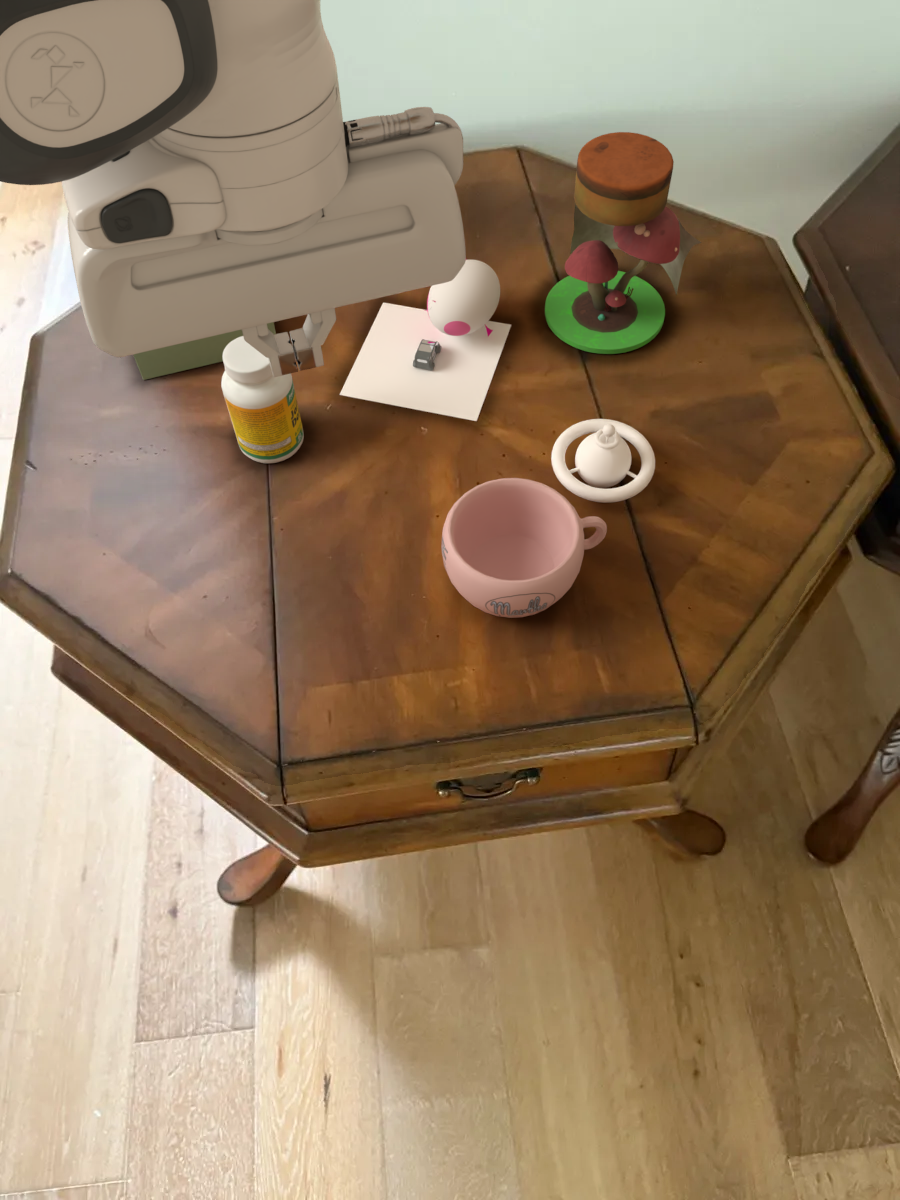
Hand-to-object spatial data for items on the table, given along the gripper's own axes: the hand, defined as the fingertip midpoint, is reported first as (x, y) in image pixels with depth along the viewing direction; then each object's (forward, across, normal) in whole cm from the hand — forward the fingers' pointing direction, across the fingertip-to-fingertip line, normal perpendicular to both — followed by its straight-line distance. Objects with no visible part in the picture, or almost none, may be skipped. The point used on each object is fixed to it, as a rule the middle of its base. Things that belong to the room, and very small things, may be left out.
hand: (296, 364), depth 57 cm
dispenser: (+19, +5, -28) cm, 34 cm away
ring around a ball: (+19, -22, -1) cm, 29 cm away
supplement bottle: (+19, +2, -13) cm, 23 cm away
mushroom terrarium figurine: (+19, -30, -18) cm, 40 cm away
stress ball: (+19, -16, -21) cm, 33 cm away
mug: (+19, -13, +6) cm, 24 cm away
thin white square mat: (+19, -13, -18) cm, 29 cm away
